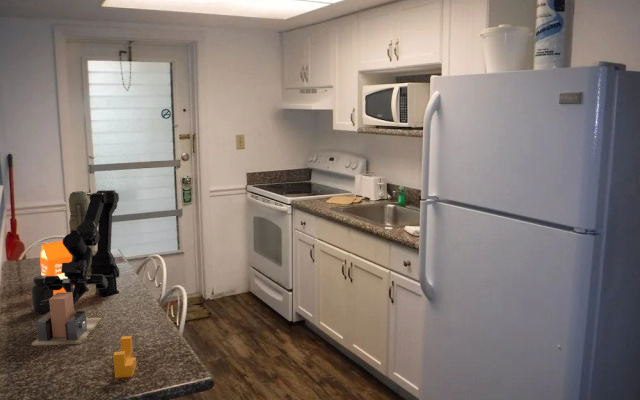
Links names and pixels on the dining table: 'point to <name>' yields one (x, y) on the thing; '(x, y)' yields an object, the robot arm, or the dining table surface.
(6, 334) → the dining table surface
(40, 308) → the supplement bottle
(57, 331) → the peg post
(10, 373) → the dining table surface
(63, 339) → the base board
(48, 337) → the band block
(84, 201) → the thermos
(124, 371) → the orange stepped block
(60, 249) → the orange juice
